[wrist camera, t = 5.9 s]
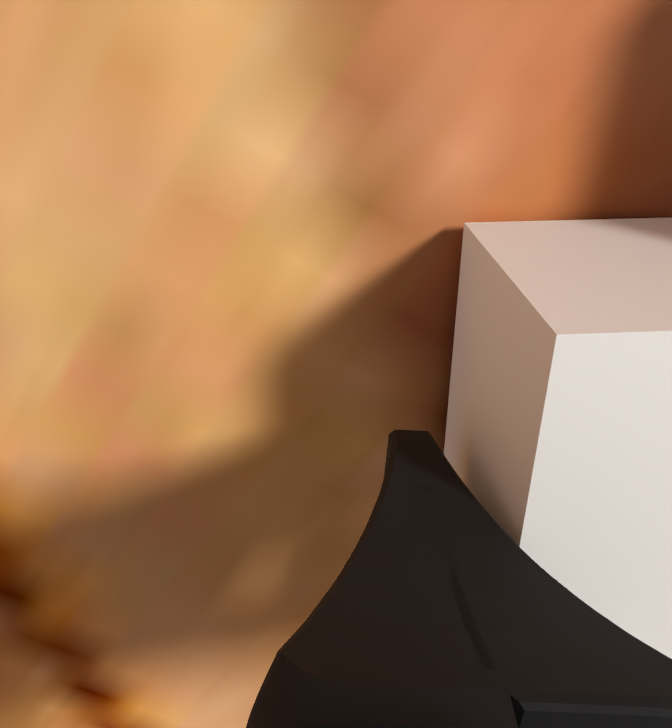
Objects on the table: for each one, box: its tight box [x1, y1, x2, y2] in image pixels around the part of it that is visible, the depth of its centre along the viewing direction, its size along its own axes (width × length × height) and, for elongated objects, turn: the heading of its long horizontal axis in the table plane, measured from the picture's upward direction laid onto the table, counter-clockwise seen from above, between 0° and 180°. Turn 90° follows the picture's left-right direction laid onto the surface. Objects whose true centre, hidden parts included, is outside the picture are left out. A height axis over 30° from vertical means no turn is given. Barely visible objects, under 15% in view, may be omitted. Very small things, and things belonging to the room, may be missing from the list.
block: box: [444, 217, 672, 659], centre depth 12 cm, size 9×5×5 cm, turn 1°
